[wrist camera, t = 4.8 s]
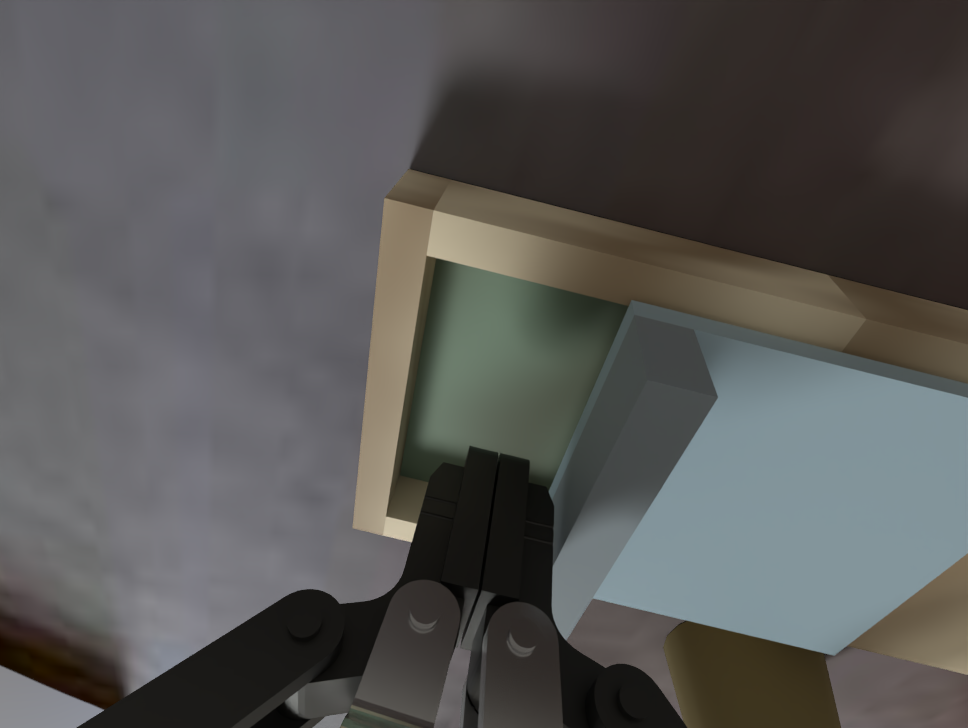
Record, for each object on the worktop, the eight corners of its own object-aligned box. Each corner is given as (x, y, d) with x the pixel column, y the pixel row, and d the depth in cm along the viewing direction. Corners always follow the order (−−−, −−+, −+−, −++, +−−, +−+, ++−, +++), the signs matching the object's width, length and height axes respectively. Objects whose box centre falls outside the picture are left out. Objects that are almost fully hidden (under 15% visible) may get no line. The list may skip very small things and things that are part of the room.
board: (1392, 417, 13) (1512, 481, 11) (1021, 637, 19) (1062, 697, 18) (408, 168, 12) (384, 198, 11) (371, 481, 19) (352, 528, 17)
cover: (1096, 416, 11) (1225, 522, 9) (826, 636, 17) (864, 734, 15) (631, 299, 11) (647, 379, 9) (517, 562, 17) (510, 650, 14)
